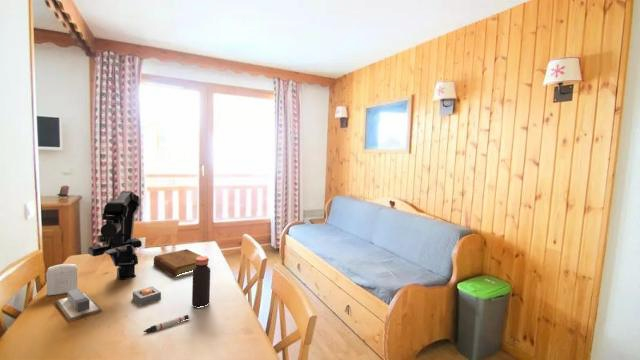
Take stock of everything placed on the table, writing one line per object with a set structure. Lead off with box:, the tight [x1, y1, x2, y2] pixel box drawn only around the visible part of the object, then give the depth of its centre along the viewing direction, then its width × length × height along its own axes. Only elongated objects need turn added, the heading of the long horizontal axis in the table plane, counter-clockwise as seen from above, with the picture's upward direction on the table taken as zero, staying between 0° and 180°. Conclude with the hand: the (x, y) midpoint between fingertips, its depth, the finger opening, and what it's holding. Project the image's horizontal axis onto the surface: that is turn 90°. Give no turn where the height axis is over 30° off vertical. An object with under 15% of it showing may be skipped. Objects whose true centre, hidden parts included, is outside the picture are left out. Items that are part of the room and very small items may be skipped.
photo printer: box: [46, 263, 79, 296], centre depth 133 cm, size 10×4×12 cm, turn 123°
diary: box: [153, 248, 210, 278], centre depth 169 cm, size 23×19×6 cm
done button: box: [141, 288, 152, 296], centre depth 132 cm, size 4×4×2 cm
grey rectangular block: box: [66, 288, 89, 312], centre depth 122 cm, size 4×14×4 cm, turn 52°
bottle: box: [191, 255, 211, 307], centre depth 129 cm, size 7×7×20 cm
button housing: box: [132, 286, 162, 306], centre depth 132 cm, size 8×8×3 cm
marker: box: [143, 314, 190, 333], centre depth 113 cm, size 15×2×2 cm, turn 135°
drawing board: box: [54, 292, 103, 323], centre depth 122 cm, size 10×20×1 cm, turn 52°
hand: (116, 265), depth 135 cm, fingers closed
